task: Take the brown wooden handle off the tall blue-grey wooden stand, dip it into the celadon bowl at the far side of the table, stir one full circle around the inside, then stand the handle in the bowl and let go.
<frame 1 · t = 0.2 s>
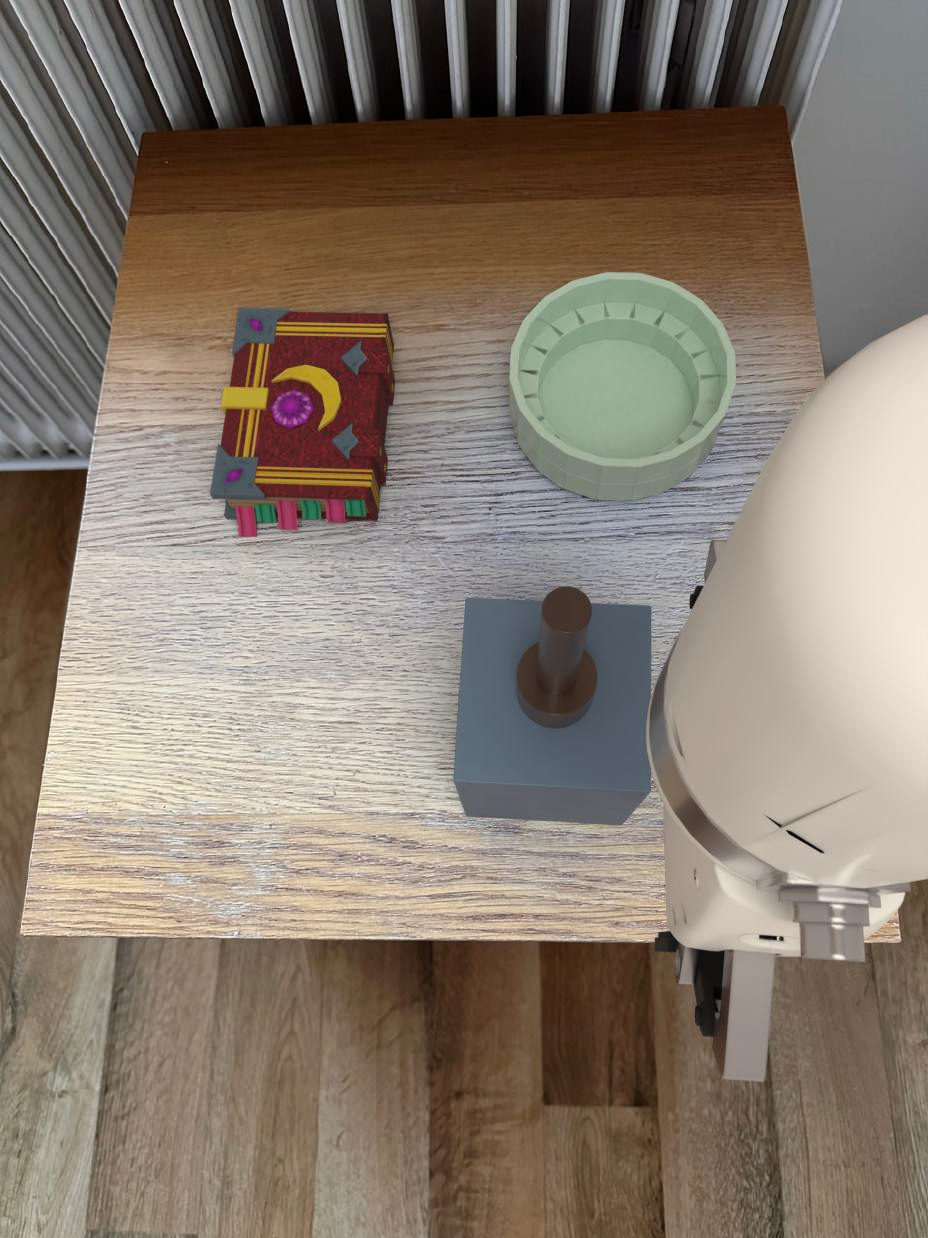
hand: (693, 818, 39), 24 cm above the table, tool pointing down, fingers open, 9 cm apart
pill bottle: (707, 792, 63), on the table
brown wooden handle: (554, 691, 51), point 14 cm above the table, touching stand
bowl: (613, 411, 72), on the table
stand: (546, 744, 64), on the table
decorative book: (314, 439, 73), on the table
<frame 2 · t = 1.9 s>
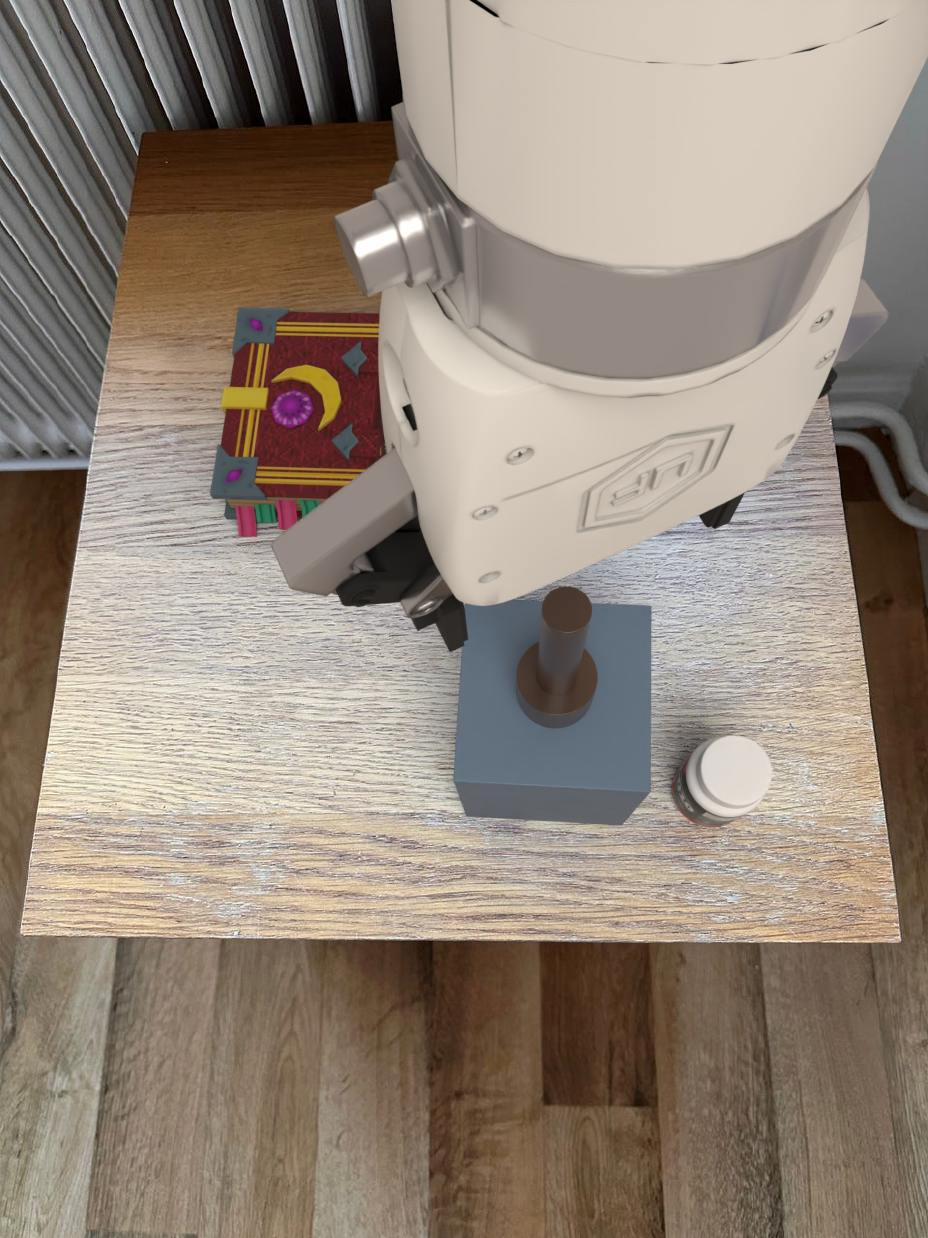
hand: (569, 549, 33), 33 cm above the table, tool pointing down, fingers open, 9 cm apart
nothing on the table moved.
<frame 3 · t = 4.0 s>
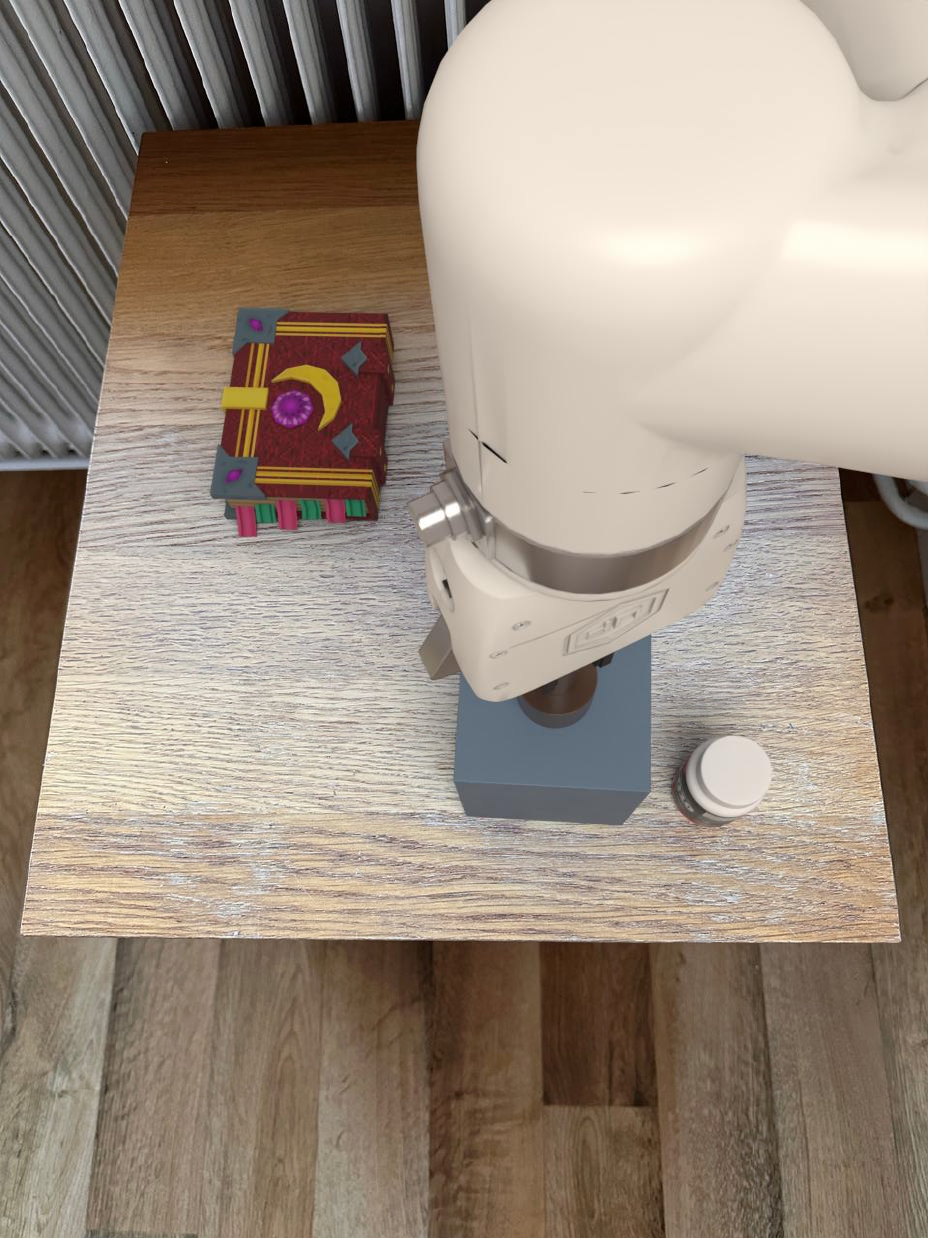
hand: (561, 649, 44), 22 cm above the table, tool pointing down, fingers closed on brown wooden handle, 2 cm apart
brown wooden handle: (554, 691, 51), point 14 cm above the table, touching gripper, stand
everything else where it was.
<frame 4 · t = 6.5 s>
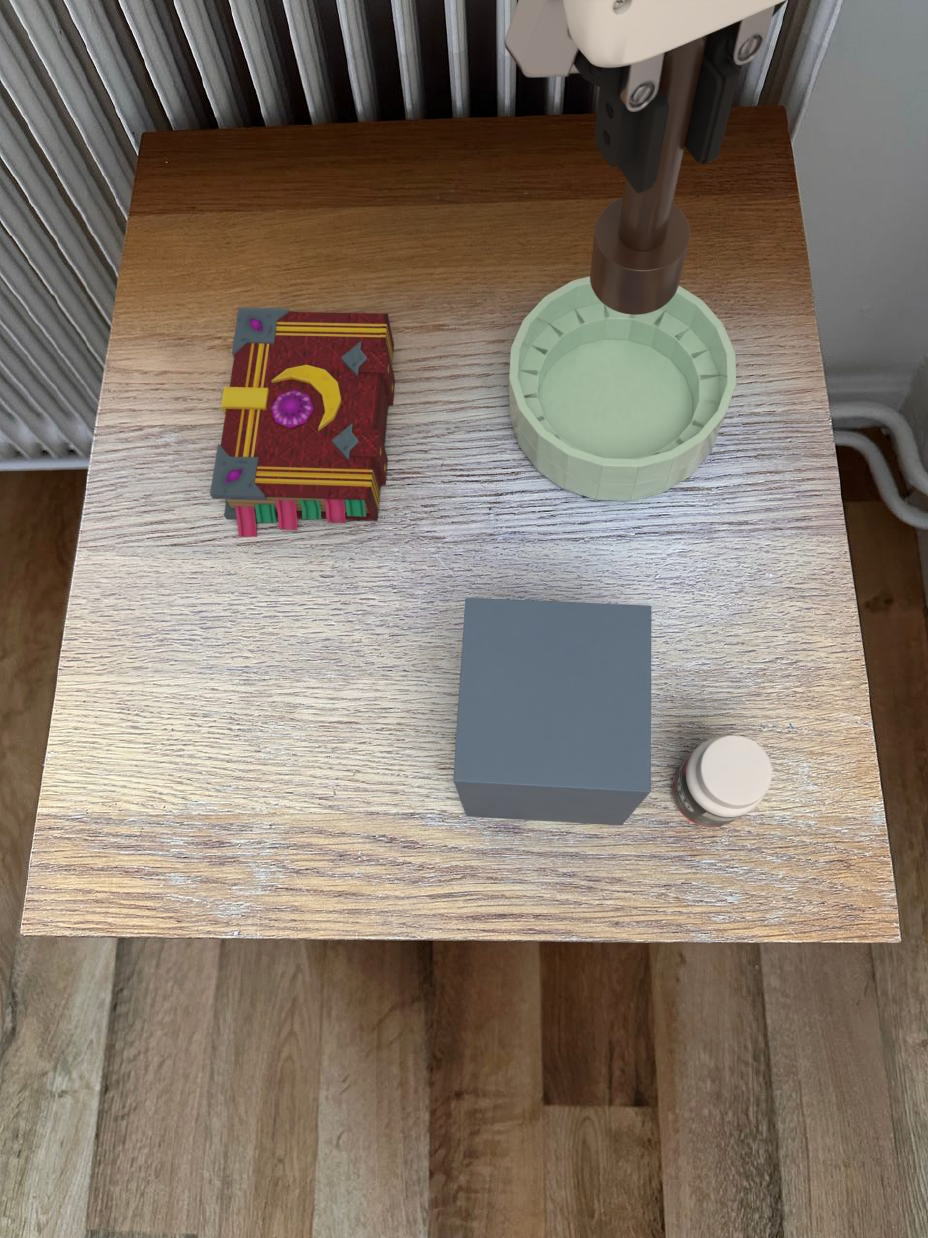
hand: (657, 147, 37), 34 cm above the table, tool pointing down, fingers closed on brown wooden handle
brown wooden handle: (634, 277, 44), point 27 cm above the table, touching gripper
everything else where it was.
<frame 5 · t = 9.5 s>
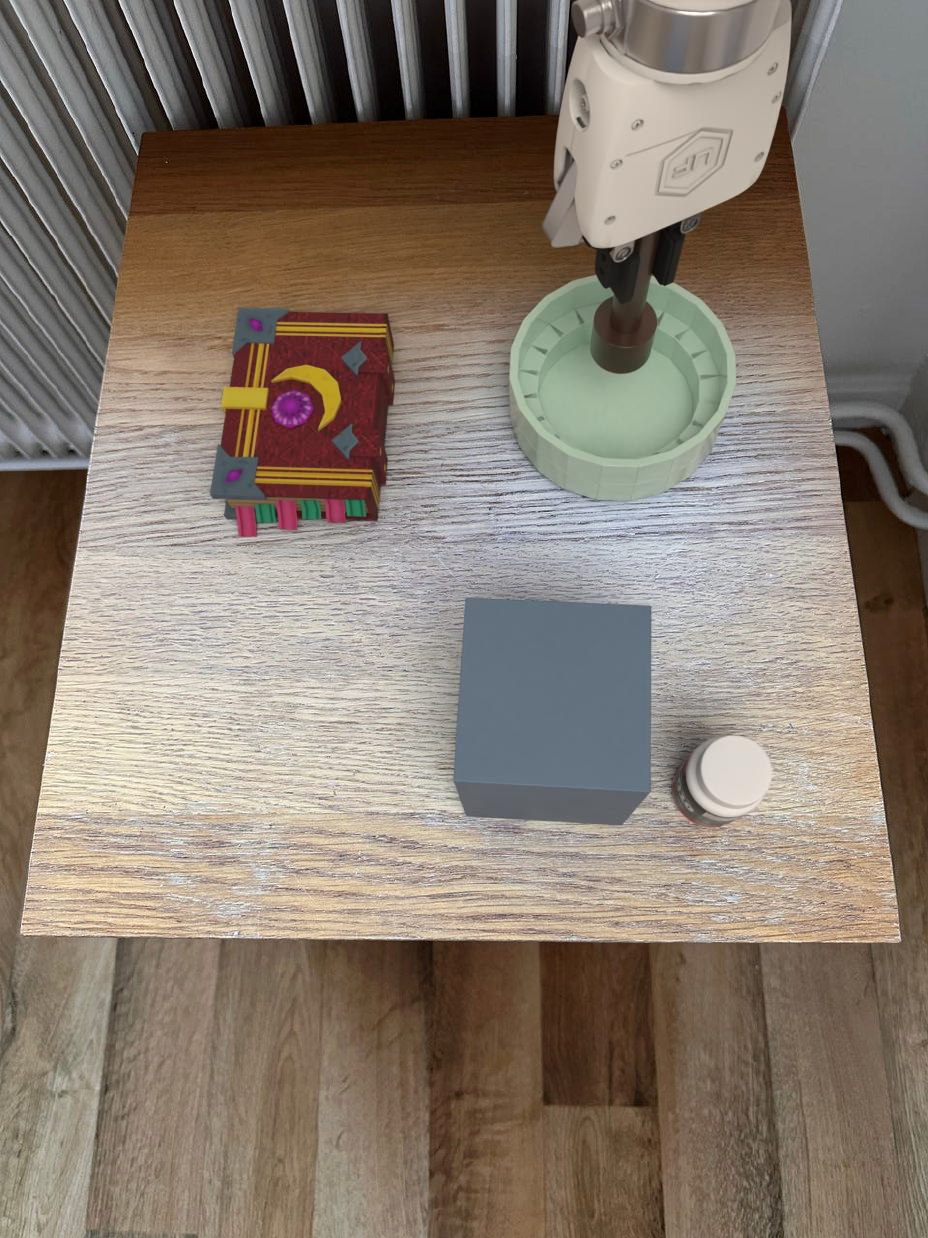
hand: (634, 274, 57), 15 cm above the table, tool pointing down, fingers closed on brown wooden handle, 2 cm apart
brown wooden handle: (620, 347, 65), point 8 cm above the table, touching gripper
everything else where it was.
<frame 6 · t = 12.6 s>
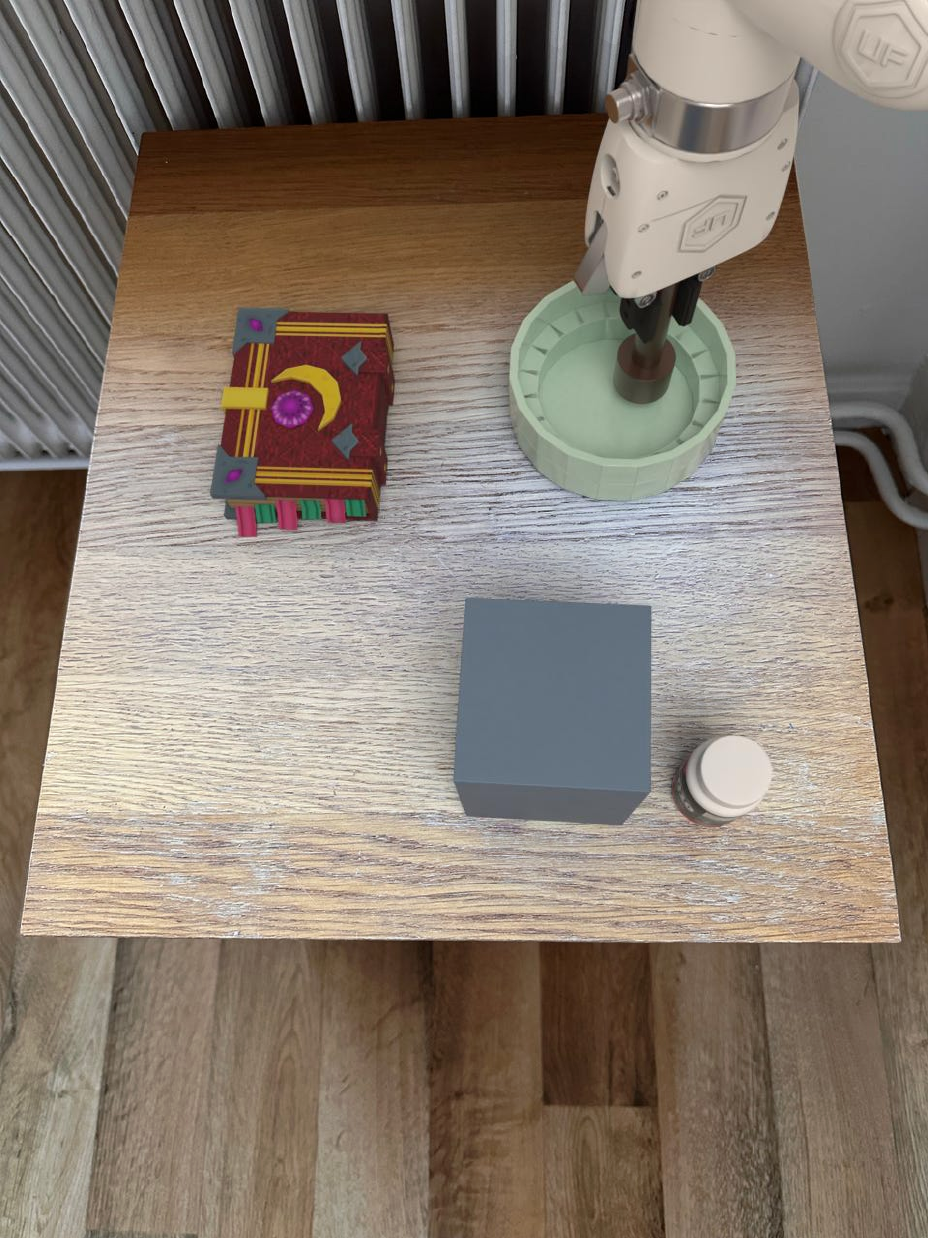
hand: (655, 315, 63), 10 cm above the table, tool pointing down, fingers closed on brown wooden handle, 2 cm apart
brown wooden handle: (641, 379, 70), point 2 cm above the table, touching gripper
everything else where it was.
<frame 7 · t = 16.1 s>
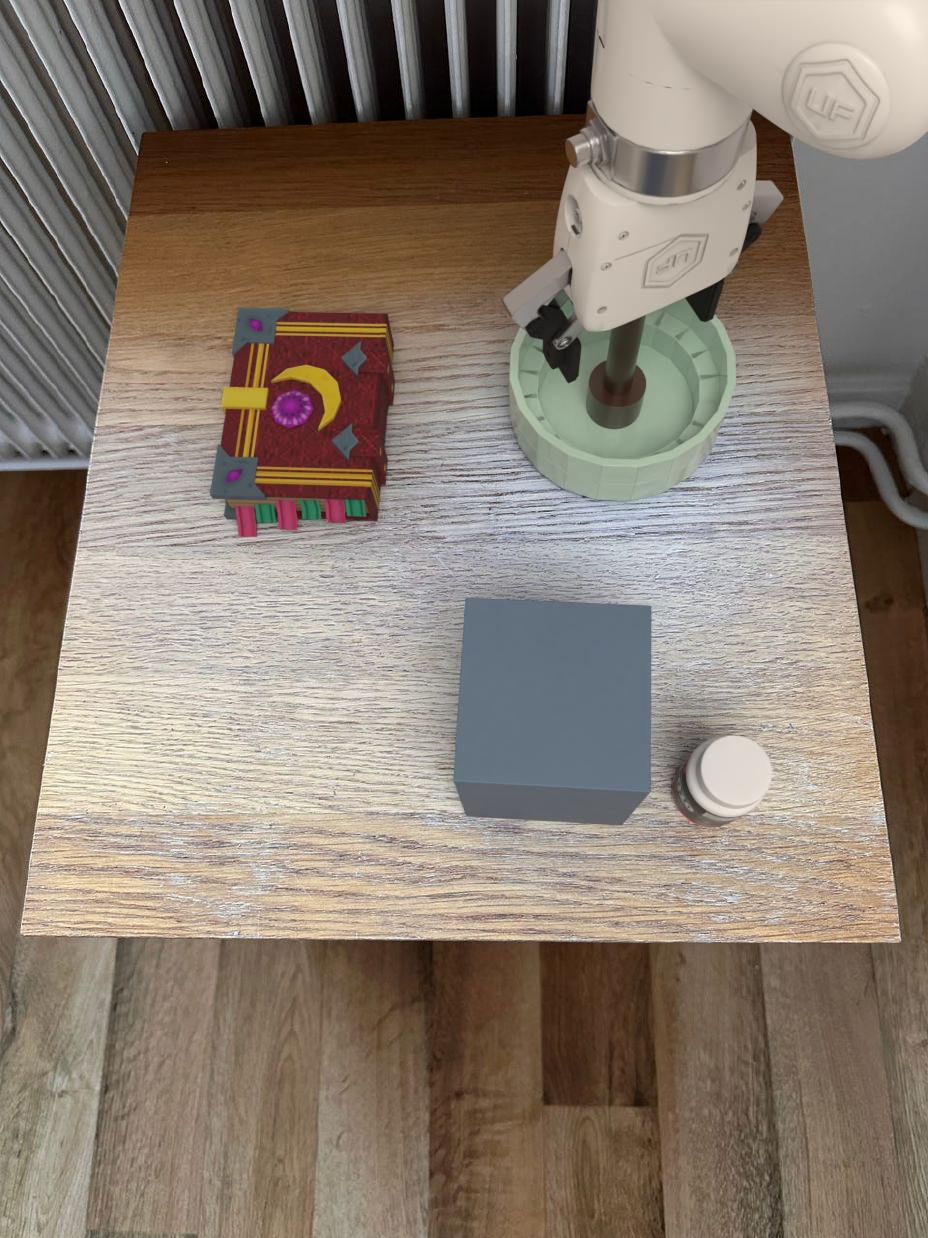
hand: (629, 334, 63), 10 cm above the table, tool pointing down, fingers open, 9 cm apart
brown wooden handle: (613, 405, 71), point 1 cm above the table, touching bowl
everything else where it was.
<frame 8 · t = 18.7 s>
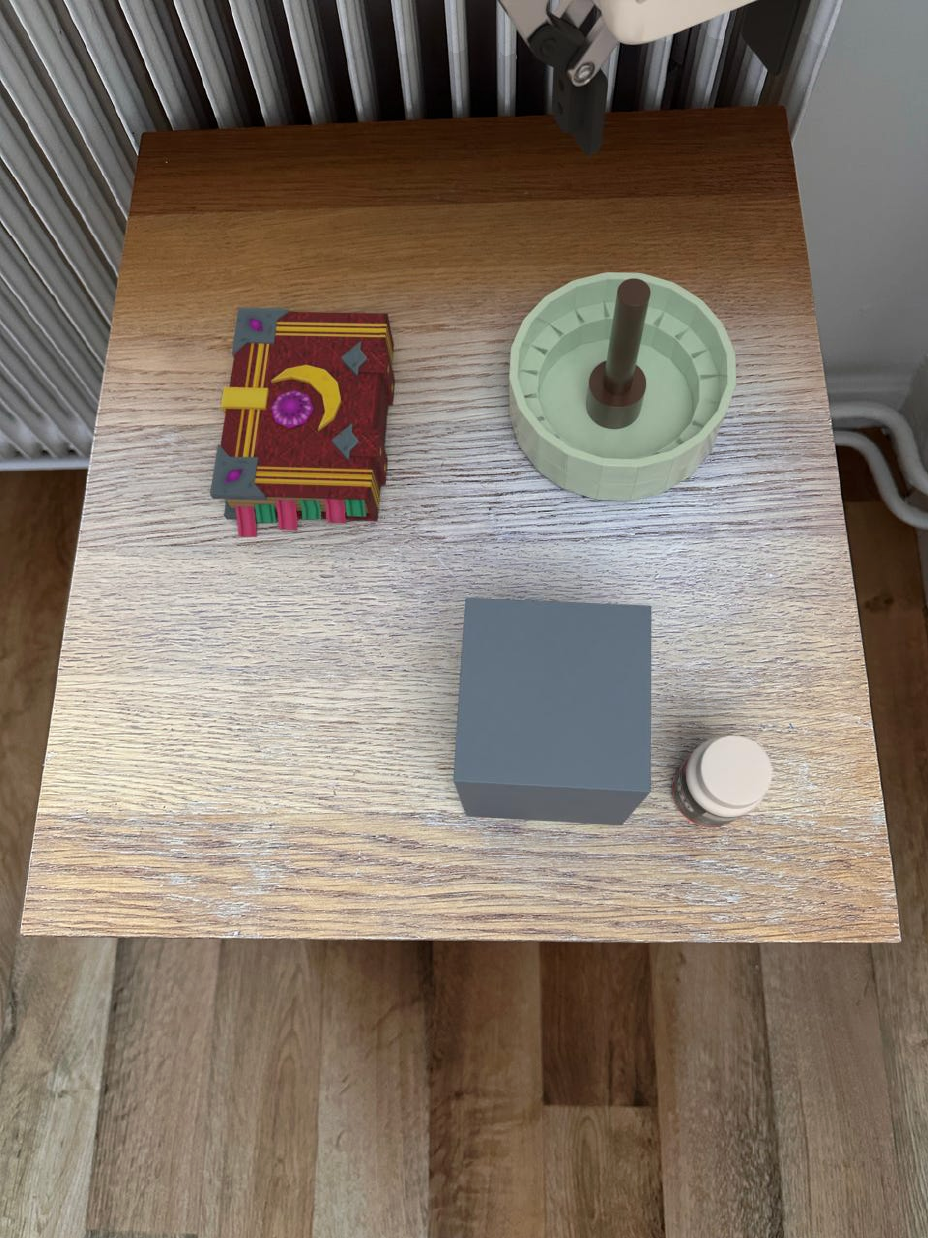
hand: (671, 92, 45), 28 cm above the table, tool pointing down, fingers open, 9 cm apart
nothing on the table moved.
at the end: brown wooden handle inside the target area in the bowl (0.1 cm from its centre), point 0.8 cm above the bowl's base; brown wooden handle moved 28.6 cm from its start; the gripper is holding nothing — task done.
